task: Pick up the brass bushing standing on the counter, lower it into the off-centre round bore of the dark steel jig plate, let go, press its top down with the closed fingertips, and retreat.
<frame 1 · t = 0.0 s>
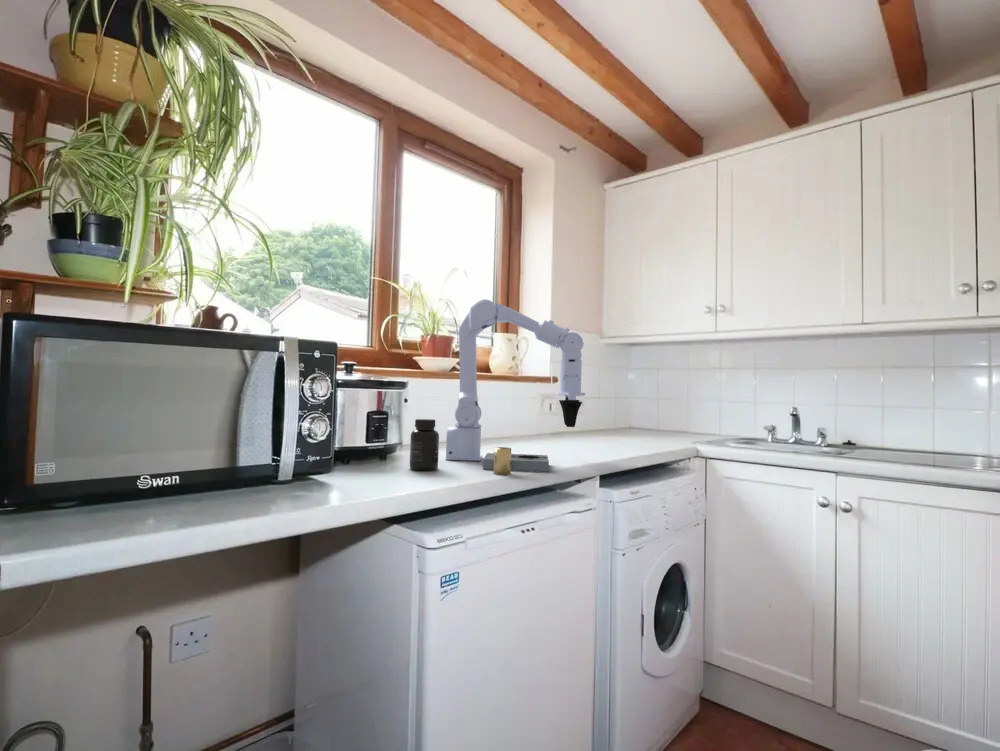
hand: (569, 425, 144), 10 cm above the countertop, tool pointing down, fingers open, 7 cm apart
jig: (516, 466, 133), on the countertop
bushing: (502, 473, 123), on the countertop
supplement bottle: (423, 470, 126), on the countertop
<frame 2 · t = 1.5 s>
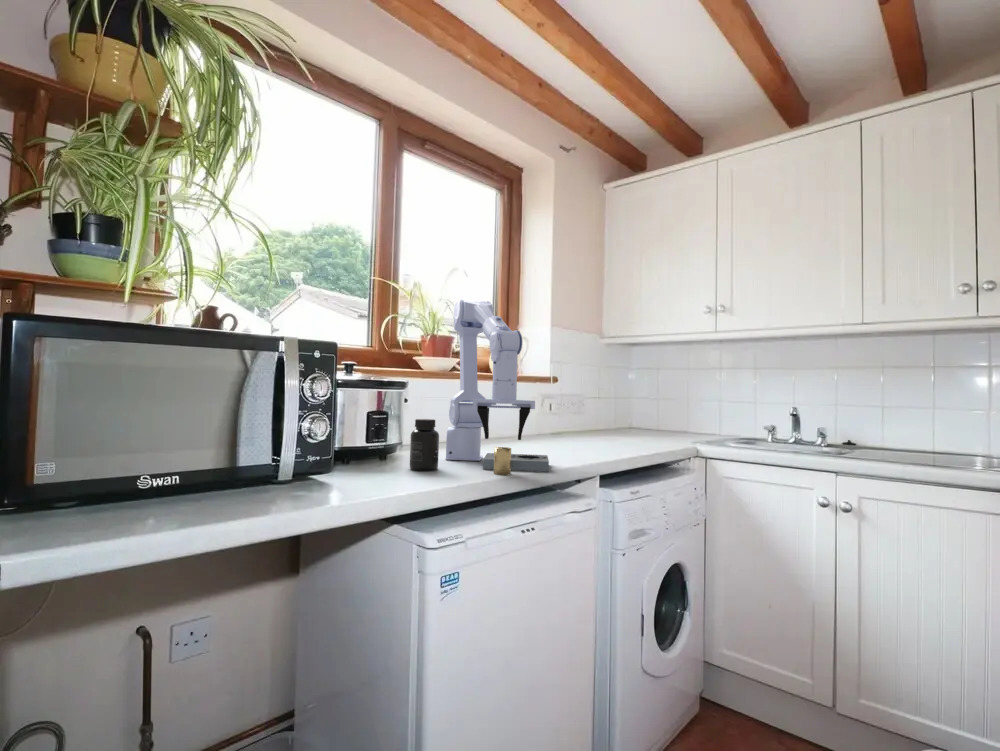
hand: (503, 439, 123), 8 cm above the countertop, tool pointing down, fingers open, 7 cm apart
nothing on the countertop moved.
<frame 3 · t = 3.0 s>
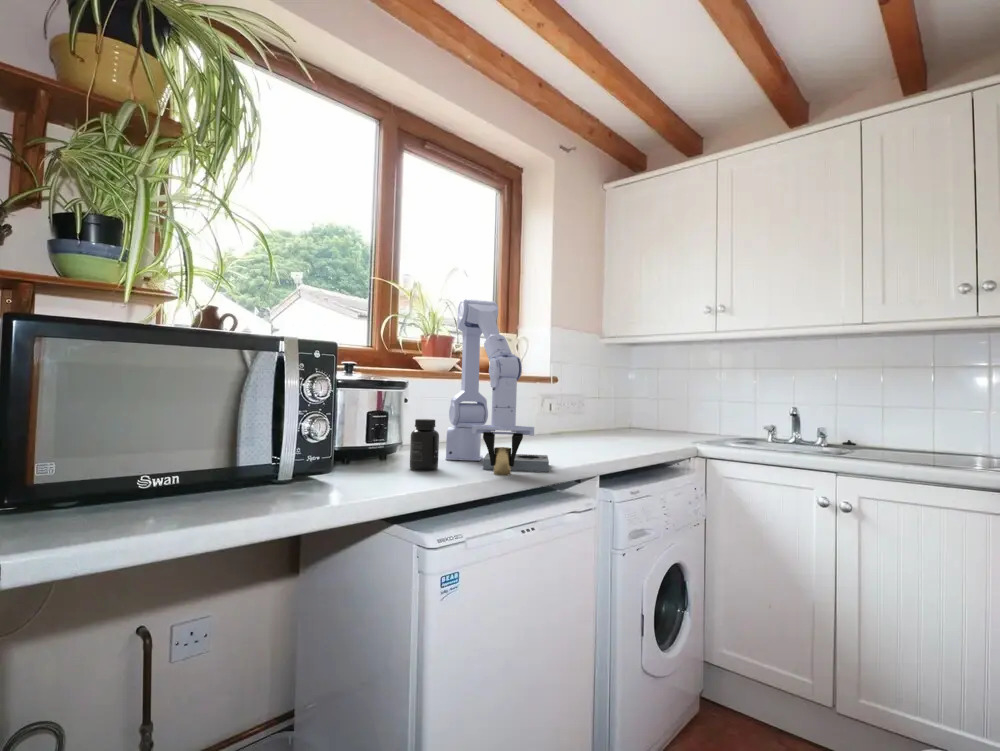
hand: (502, 465, 123), 2 cm above the countertop, tool pointing down, fingers closed on bushing, 4 cm apart
bushing: (502, 473, 123), on the countertop, touching gripper
everything else where it was.
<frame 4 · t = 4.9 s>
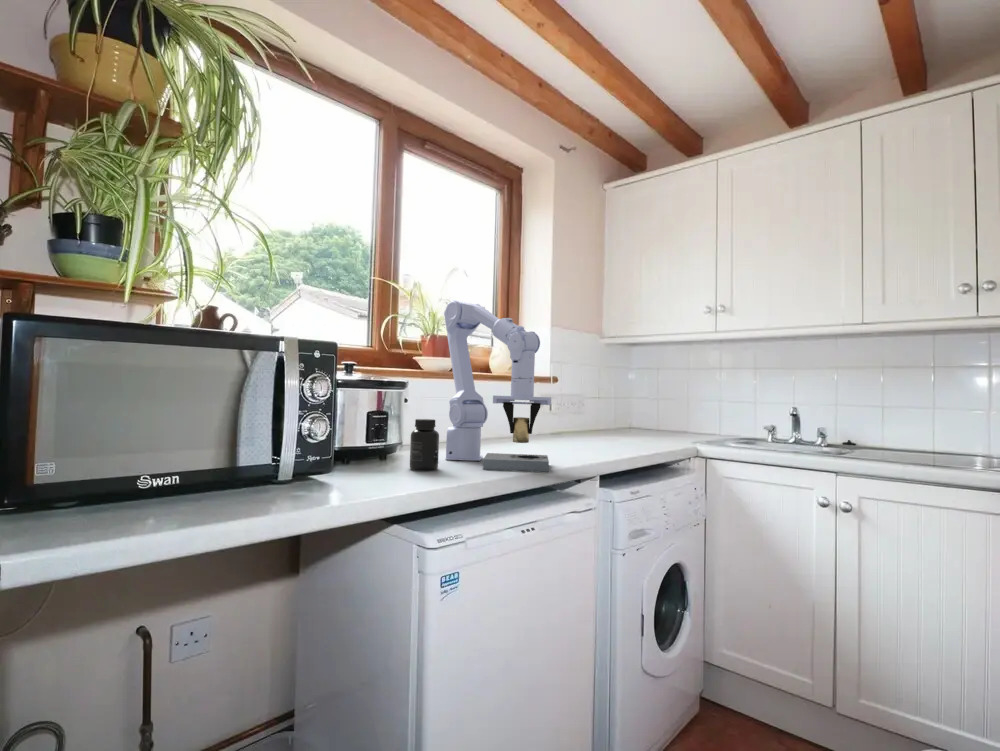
hand: (521, 433, 131), 9 cm above the countertop, tool pointing down, fingers closed on bushing, 4 cm apart
bushing: (520, 441, 131), point 7 cm above the countertop, touching gripper
everything else where it was.
when the fingers open (3 cm above the countertop, at t = 7.1 s): bushing stays where it is, resting in jig.
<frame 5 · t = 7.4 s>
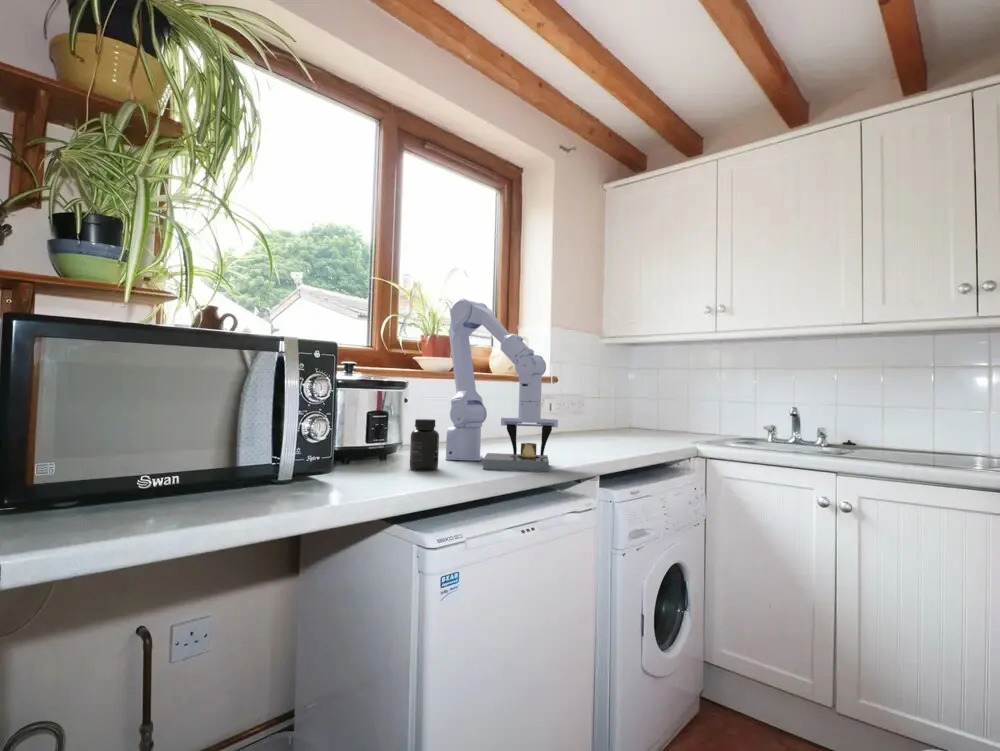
hand: (528, 454, 134), 3 cm above the countertop, tool pointing down, fingers open, 6 cm apart
bushing: (528, 467, 134), resting in jig
everything else where it was.
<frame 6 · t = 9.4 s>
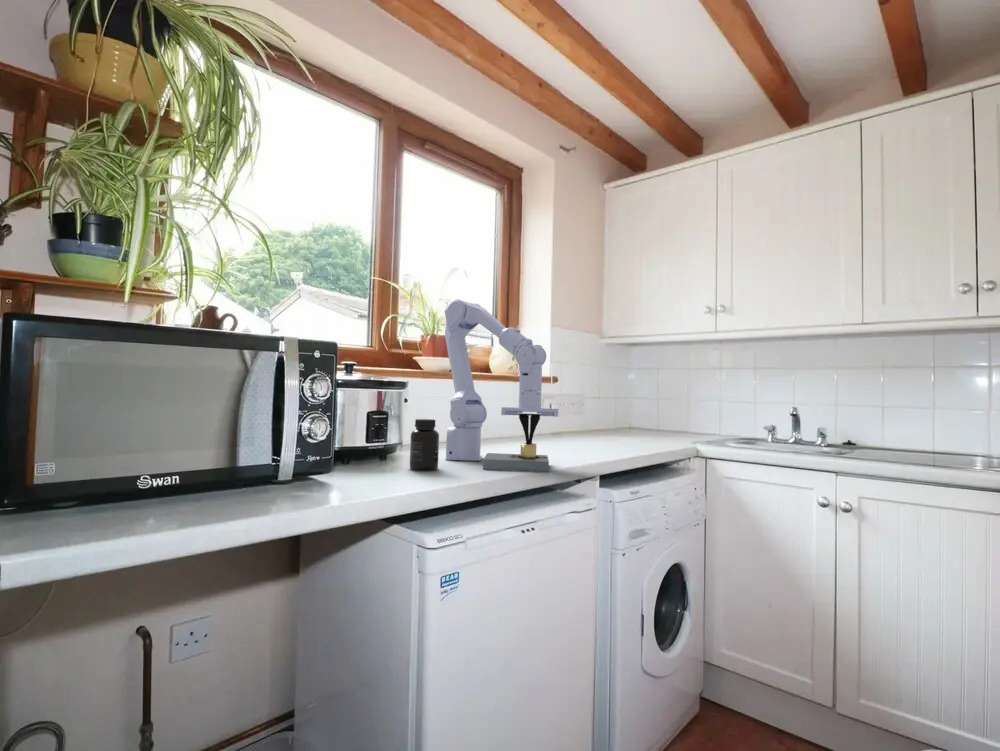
hand: (528, 444, 134), 6 cm above the countertop, tool pointing down, fingers closed, pressing on bushing
bushing: (527, 467, 134), resting in jig, touching gripper
everything else where it was.
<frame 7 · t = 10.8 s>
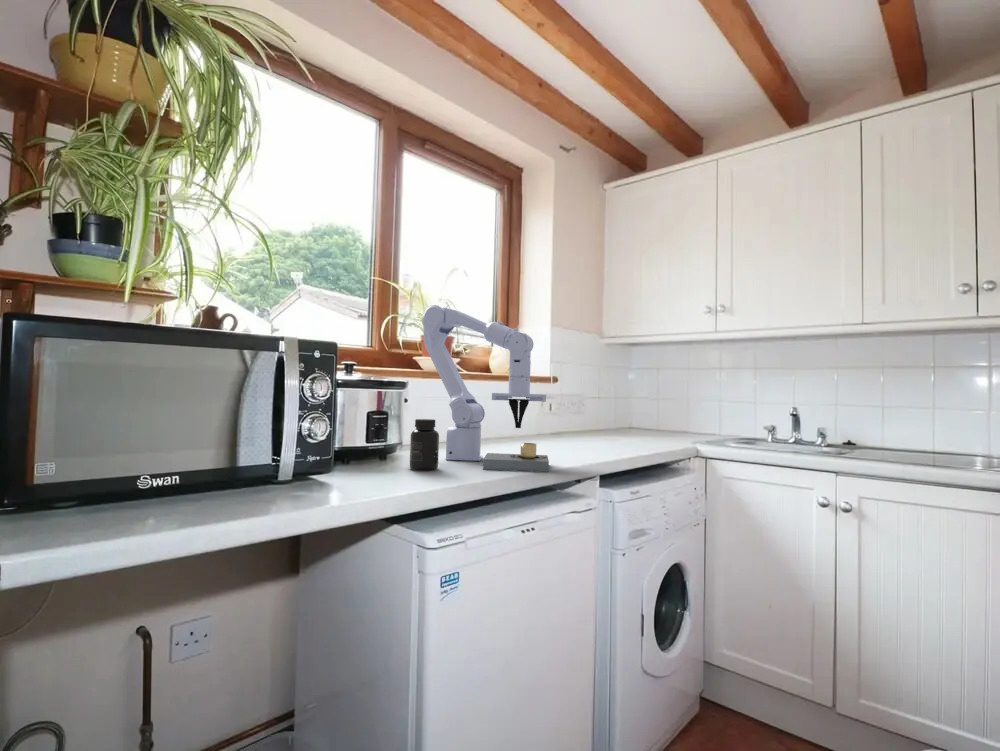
hand: (518, 427, 141), 9 cm above the countertop, tool pointing down, fingers closed
bushing: (527, 467, 134), resting in jig
everything else where it was.
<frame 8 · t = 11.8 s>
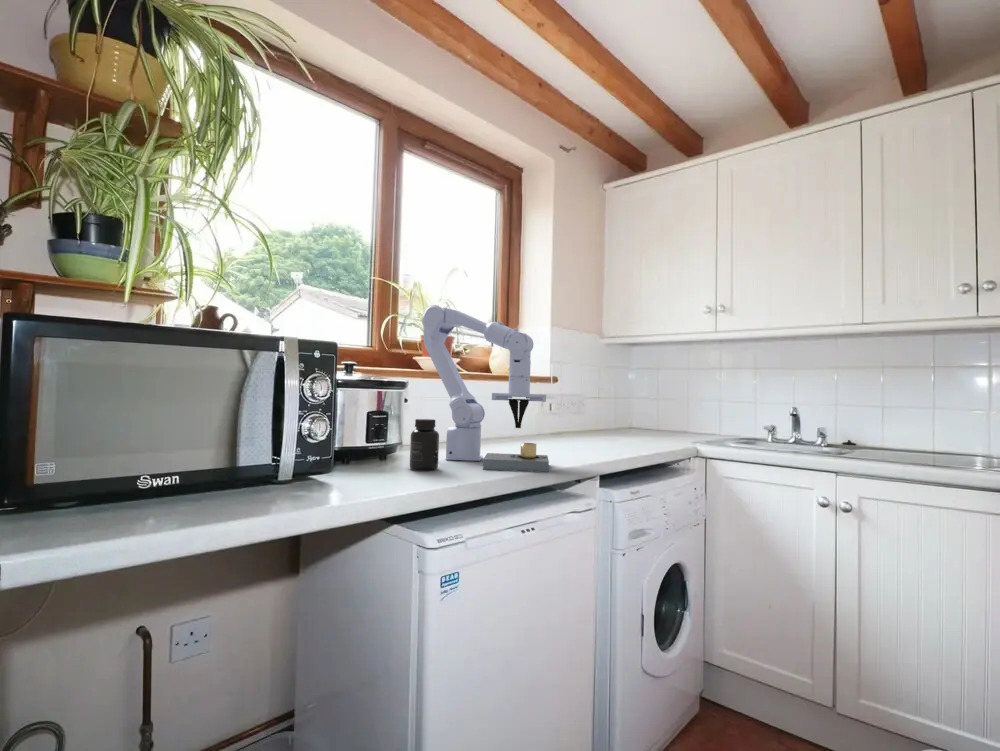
hand: (518, 427, 141), 9 cm above the countertop, tool pointing down, fingers closed
nothing on the countertop moved.
at the end: bushing 0.3 cm from the target spot on the jig, point 0.0 cm above the jig's base; bushing tilted 0°; the gripper is holding nothing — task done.
